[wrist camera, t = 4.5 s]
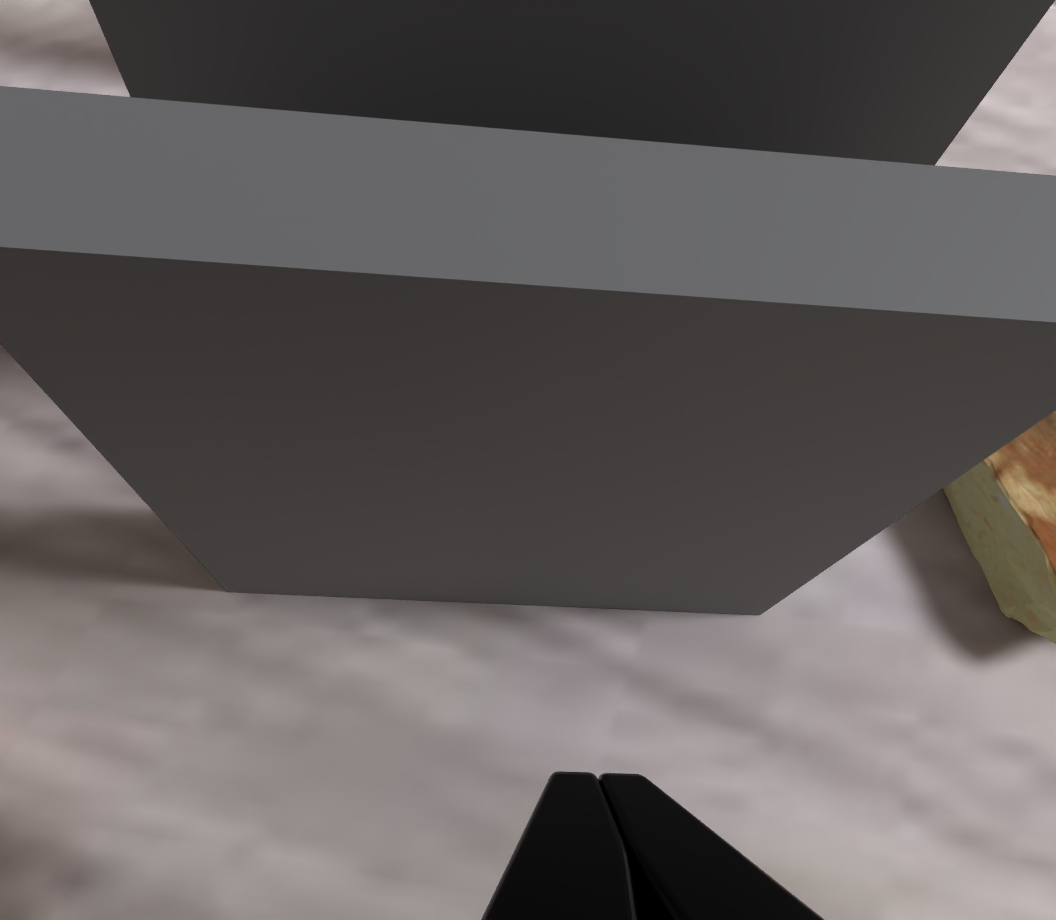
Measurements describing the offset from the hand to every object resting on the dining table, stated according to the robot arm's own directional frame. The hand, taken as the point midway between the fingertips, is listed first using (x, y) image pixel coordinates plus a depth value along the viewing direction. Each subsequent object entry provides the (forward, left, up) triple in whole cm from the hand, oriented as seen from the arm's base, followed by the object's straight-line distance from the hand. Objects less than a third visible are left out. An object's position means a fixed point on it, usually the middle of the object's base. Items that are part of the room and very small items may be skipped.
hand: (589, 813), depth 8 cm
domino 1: (+5, +1, -7) cm, 9 cm away
